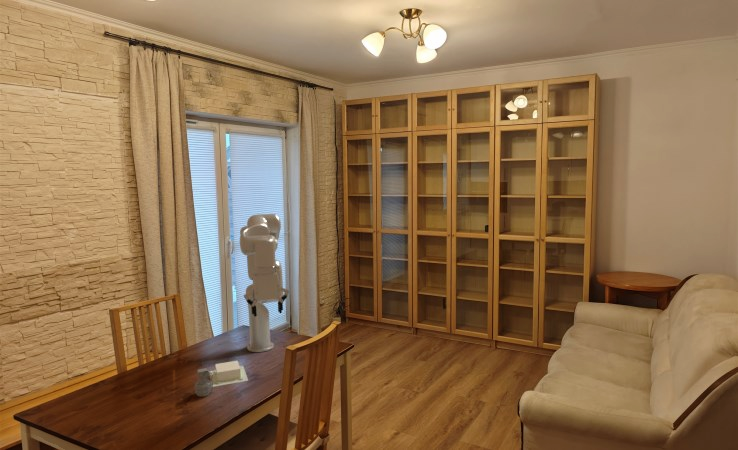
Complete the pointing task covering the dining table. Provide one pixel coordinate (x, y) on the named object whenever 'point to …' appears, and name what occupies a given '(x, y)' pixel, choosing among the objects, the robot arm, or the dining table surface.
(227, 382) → the base plate
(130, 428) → the dining table surface
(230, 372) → the cream brick
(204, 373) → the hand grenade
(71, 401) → the dining table surface
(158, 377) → the dining table surface
